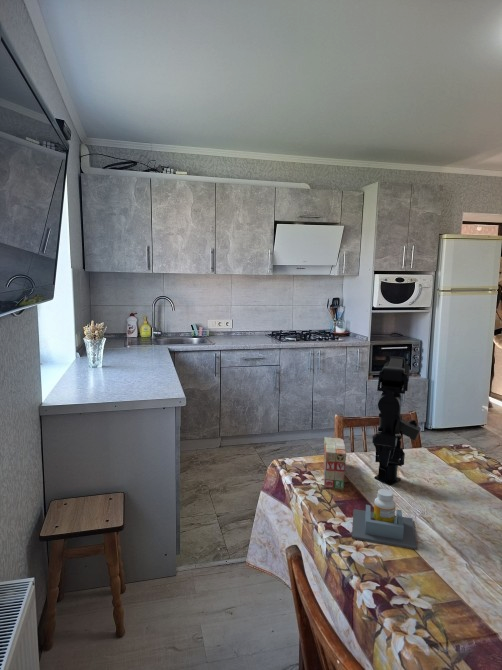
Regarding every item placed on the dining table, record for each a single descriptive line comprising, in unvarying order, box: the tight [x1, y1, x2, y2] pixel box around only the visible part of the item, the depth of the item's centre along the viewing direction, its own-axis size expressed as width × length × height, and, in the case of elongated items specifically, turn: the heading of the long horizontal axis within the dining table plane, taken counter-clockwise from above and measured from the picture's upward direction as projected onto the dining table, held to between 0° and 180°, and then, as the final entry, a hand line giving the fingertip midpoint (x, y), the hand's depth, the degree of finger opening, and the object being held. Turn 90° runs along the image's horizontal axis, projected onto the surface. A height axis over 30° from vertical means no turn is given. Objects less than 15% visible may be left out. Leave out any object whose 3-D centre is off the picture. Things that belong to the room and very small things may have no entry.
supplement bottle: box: [373, 488, 396, 523], centre depth 117 cm, size 5×5×10 cm
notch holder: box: [351, 504, 418, 551], centre depth 117 cm, size 14×16×4 cm
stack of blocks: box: [323, 436, 347, 490], centre depth 149 cm, size 21×6×12 cm, turn 172°
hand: (387, 462), depth 129 cm, fingers open, 9 cm apart
